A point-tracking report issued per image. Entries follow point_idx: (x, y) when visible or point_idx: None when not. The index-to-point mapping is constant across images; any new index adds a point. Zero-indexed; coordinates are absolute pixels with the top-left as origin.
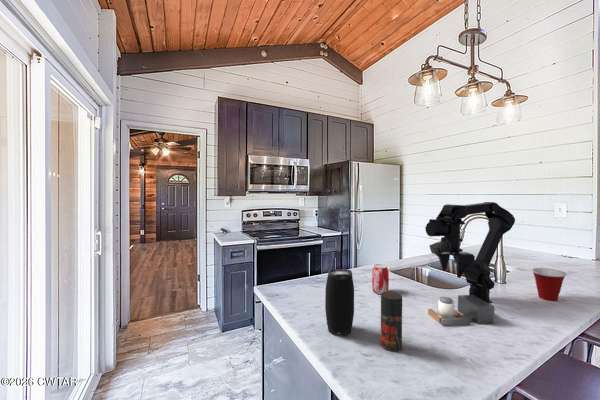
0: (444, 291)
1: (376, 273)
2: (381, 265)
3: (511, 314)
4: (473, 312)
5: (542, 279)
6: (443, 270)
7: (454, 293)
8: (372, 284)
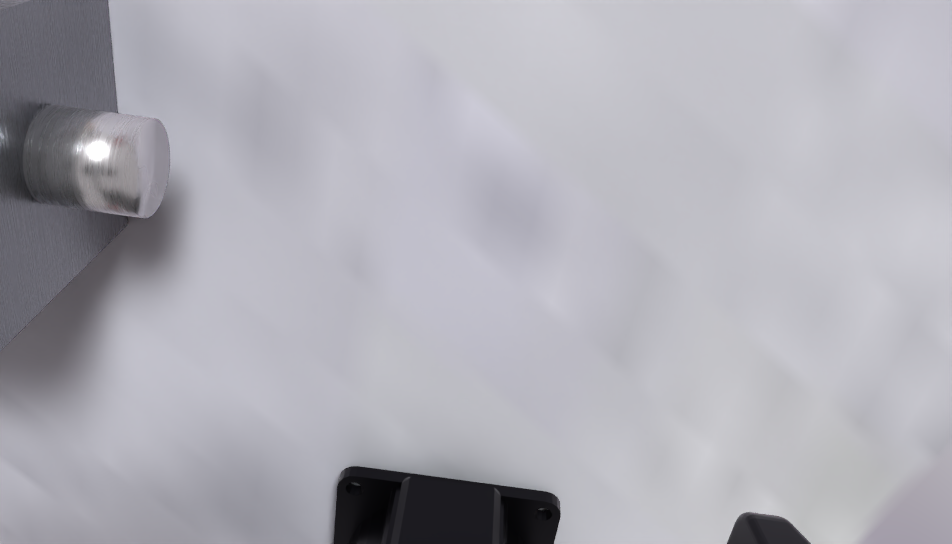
0: (873, 379)
1: None
2: None
3: (24, 538)
4: None
5: None
6: (740, 517)
7: (741, 450)
8: None
